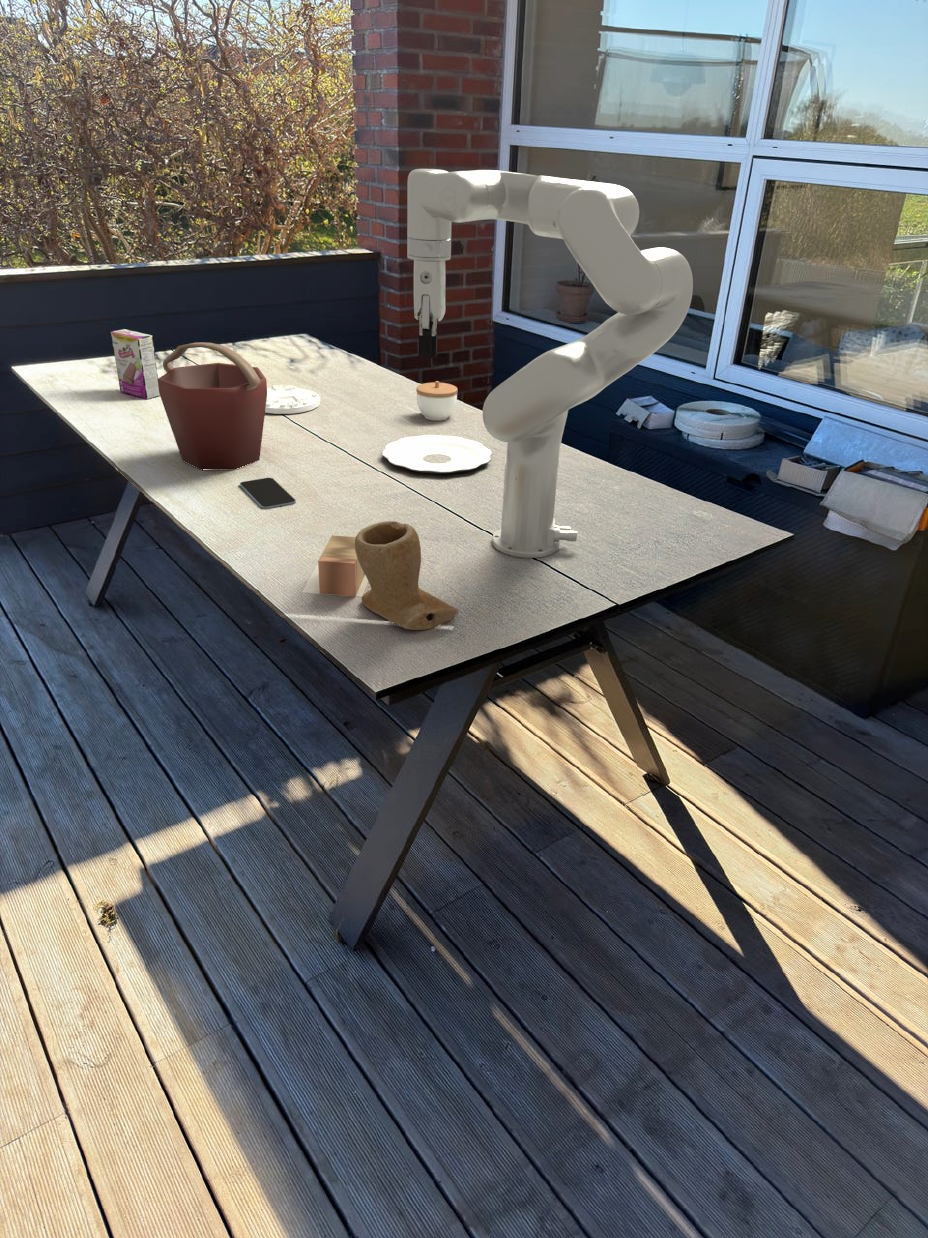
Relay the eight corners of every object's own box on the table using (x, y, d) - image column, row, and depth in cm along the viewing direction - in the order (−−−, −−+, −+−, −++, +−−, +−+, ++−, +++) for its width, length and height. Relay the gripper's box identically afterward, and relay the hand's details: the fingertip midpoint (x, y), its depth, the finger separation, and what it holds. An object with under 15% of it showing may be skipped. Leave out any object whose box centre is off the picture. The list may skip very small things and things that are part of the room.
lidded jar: (439, 425, 228) (440, 389, 223) (407, 417, 233) (407, 381, 229) (464, 416, 235) (466, 381, 231) (433, 408, 241) (434, 373, 236)
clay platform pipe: (342, 608, 143) (338, 522, 136) (400, 587, 150) (400, 504, 143) (399, 647, 134) (399, 556, 126) (459, 622, 141) (462, 536, 133)
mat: (384, 543, 165) (384, 541, 165) (362, 599, 146) (361, 596, 146) (331, 539, 166) (331, 537, 165) (302, 595, 147) (301, 592, 146)
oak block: (366, 537, 152) (354, 563, 143) (367, 569, 154) (355, 596, 146) (331, 535, 152) (318, 560, 143) (333, 566, 155) (319, 593, 146)
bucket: (151, 454, 203) (134, 341, 190) (233, 434, 217) (223, 328, 204) (212, 483, 188) (198, 364, 176) (296, 459, 203) (289, 347, 190)
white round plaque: (313, 418, 231) (313, 407, 230) (237, 414, 231) (236, 403, 230) (325, 396, 249) (324, 386, 247) (254, 393, 248) (253, 382, 247)
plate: (426, 435, 222) (427, 428, 221) (511, 457, 209) (512, 449, 208) (360, 461, 204) (360, 453, 203) (448, 487, 191) (448, 479, 191)
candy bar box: (119, 392, 244) (109, 331, 236) (133, 389, 248) (124, 328, 239) (146, 400, 239) (137, 337, 231) (161, 396, 242) (153, 334, 234)
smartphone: (262, 507, 177) (238, 482, 188) (262, 512, 177) (238, 486, 188) (297, 501, 180) (271, 476, 191) (298, 505, 181) (272, 480, 192)
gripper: (447, 256, 147) (444, 368, 156) (454, 244, 160) (451, 348, 169) (402, 254, 147) (402, 366, 156) (412, 242, 160) (411, 346, 169)
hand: (427, 356), depth 163 cm, fingers closed
